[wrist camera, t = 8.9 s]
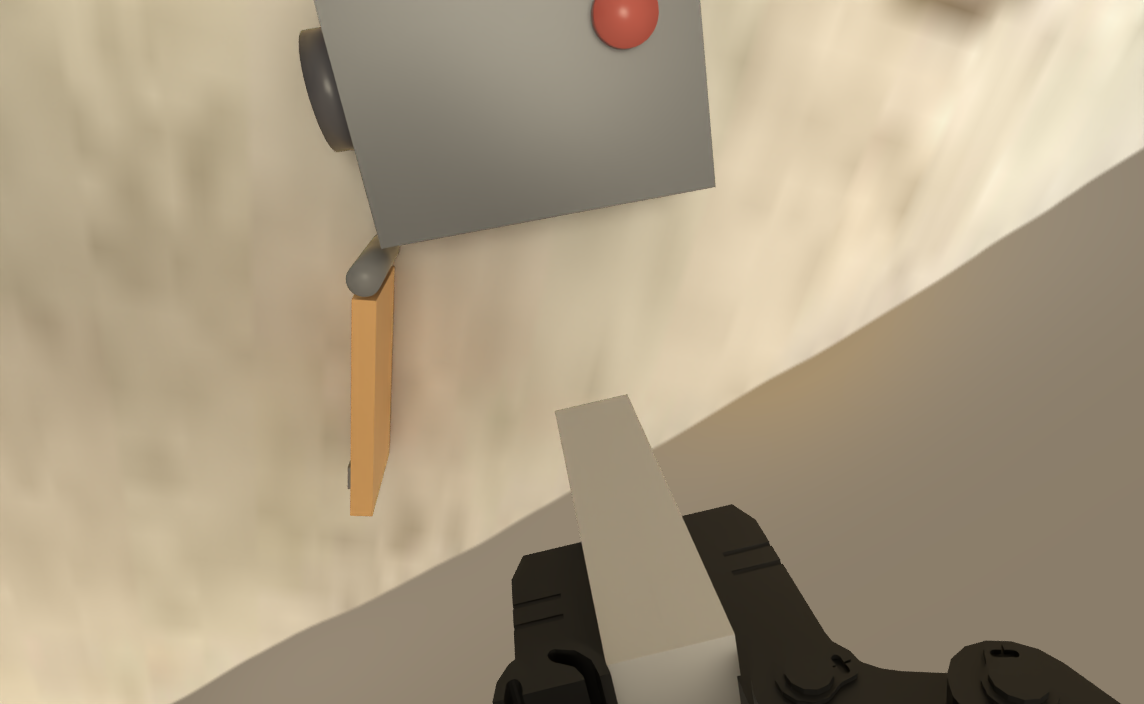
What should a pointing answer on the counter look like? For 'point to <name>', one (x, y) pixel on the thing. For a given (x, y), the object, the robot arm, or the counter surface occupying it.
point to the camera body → (510, 106)
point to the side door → (370, 372)
